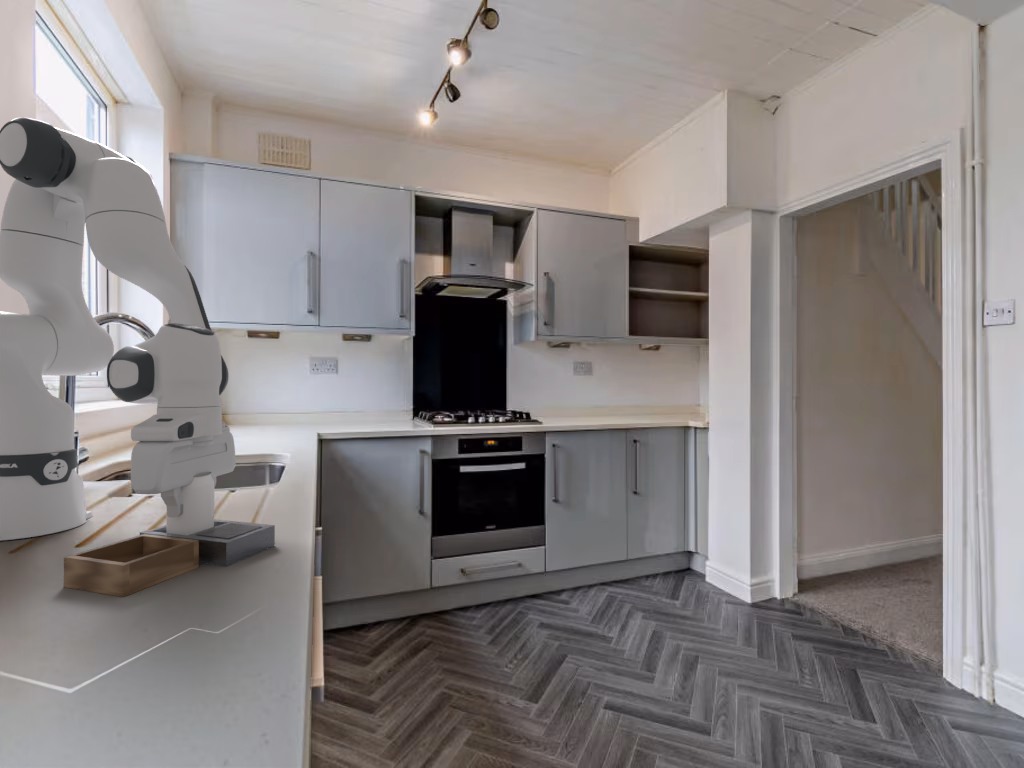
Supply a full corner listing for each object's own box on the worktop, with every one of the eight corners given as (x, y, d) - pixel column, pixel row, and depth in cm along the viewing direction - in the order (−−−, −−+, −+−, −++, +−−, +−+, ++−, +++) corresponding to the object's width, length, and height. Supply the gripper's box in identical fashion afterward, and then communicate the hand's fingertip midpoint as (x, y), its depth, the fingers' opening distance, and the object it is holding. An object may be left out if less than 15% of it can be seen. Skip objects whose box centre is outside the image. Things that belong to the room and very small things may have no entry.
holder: (63, 586, 66) (63, 557, 66) (144, 559, 76) (144, 533, 76) (122, 597, 62) (122, 565, 62) (198, 567, 73) (198, 540, 73)
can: (191, 556, 77) (191, 478, 77) (155, 553, 78) (156, 476, 78) (223, 543, 83) (223, 471, 84) (190, 541, 85) (190, 469, 85)
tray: (139, 555, 78) (139, 531, 78) (194, 537, 87) (194, 516, 87) (226, 566, 73) (226, 542, 73) (274, 546, 82) (274, 524, 82)
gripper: (211, 420, 91) (211, 496, 91) (121, 430, 71) (121, 528, 71) (245, 420, 91) (245, 496, 91) (165, 430, 71) (165, 528, 71)
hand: (190, 510), depth 81 cm, fingers closed on can, 5 cm apart
